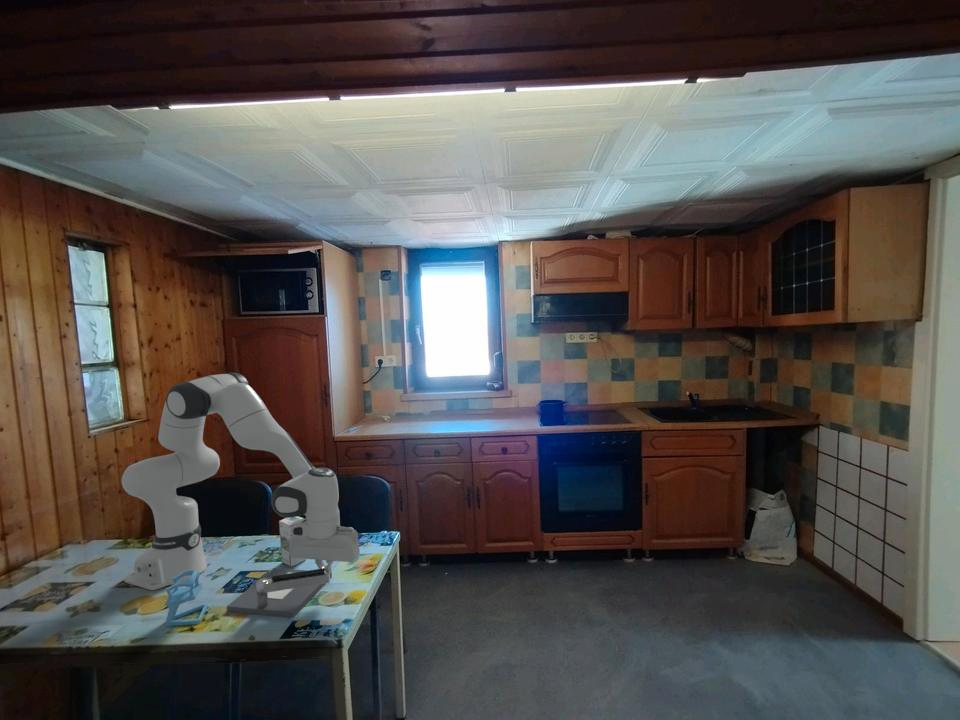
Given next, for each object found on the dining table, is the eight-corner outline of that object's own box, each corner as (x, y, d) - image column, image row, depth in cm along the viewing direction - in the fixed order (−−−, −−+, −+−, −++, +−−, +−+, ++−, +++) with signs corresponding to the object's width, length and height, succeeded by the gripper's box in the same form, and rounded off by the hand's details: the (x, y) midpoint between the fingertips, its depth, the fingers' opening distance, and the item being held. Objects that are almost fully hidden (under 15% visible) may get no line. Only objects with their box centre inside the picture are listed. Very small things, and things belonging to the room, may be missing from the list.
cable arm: (258, 589, 110) (257, 575, 110) (330, 578, 115) (329, 565, 114) (255, 595, 108) (254, 581, 107) (329, 584, 112) (328, 570, 112)
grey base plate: (227, 611, 110) (226, 593, 110) (274, 572, 128) (273, 557, 128) (293, 617, 106) (292, 599, 106) (331, 576, 125) (331, 561, 125)
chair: (172, 614, 110) (169, 571, 109) (208, 606, 113) (205, 564, 112) (161, 632, 102) (157, 586, 102) (200, 623, 105) (196, 578, 105)
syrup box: (307, 559, 136) (304, 517, 135) (290, 568, 131) (288, 524, 130) (296, 555, 139) (294, 514, 139) (280, 563, 134) (278, 520, 134)
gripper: (362, 522, 116) (364, 569, 117) (298, 519, 120) (300, 564, 120) (351, 532, 110) (353, 582, 110) (284, 528, 113) (286, 576, 114)
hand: (325, 573), depth 115 cm, fingers closed
